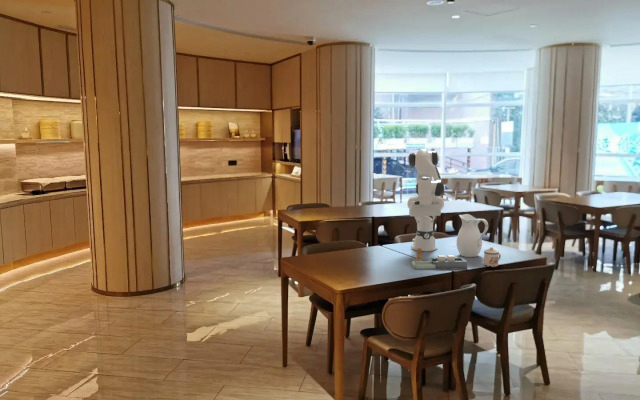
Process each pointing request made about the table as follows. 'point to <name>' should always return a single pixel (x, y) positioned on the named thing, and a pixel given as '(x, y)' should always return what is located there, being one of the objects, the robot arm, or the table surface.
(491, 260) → the teacup with lid
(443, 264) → the grooved board
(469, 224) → the pitcher
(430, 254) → the table surface
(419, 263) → the tray
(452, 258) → the cream block
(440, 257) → the cream block
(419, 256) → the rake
